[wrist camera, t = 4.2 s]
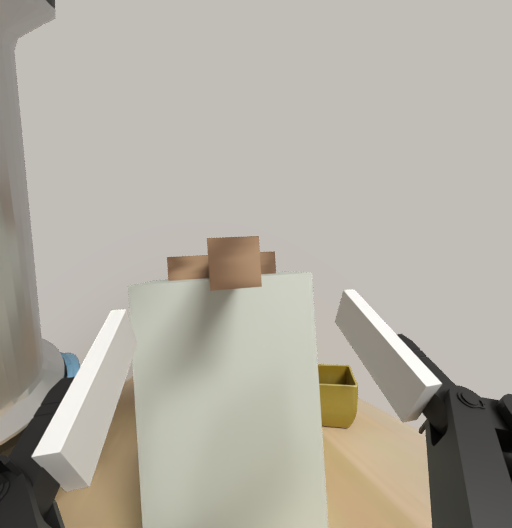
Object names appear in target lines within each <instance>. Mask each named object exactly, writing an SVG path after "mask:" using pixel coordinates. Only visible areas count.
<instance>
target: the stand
mask: <svg viewBox="0 0 512 528" xmlns="http://www.w3.org/2000/svg"><path fill="white" fill-rule="evenodd" d="M261 281H262V287H252V288H240V289H227V290H215V291H210V278H205V279H191V280H177V281H169V280H156V281H150V282H145V283H140V284H135V285H131V286H128V295H129V311H130V312H129V313H130V322H131V325H132V328H133V331H134V335H135V338H136V341H137V347H136V350H135V353H134V356H133V359H132V362H133V379H134V395H135V412H136V428H137V445H138V461H139V478H140V494H141V511H142V527H143V528H328V513H327V497H326V482H325V467H324V451H323V436H322V420H321V405H320V390H319V374H318V359H317V344H316V328H315V313H314V298H313V283H312V273H307V272H287V271H284V272H276V273H275V274H261Z"/></svg>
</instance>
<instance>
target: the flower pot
mask: <svg viewBox="0 0 512 528" xmlns="http://www.w3.org/2000/svg"><path fill="white" fill-rule="evenodd" d="M318 374H319V390H320V405H321V420H322V426H330V427H341V428H349V427H350V425H351V424H352V423H353V421H354V419H355V416H356V412H357V399H358V384H357V382H356V380H355V378H354V376H353V373H352V370H351V367H350V366H349V365H324V364H318Z"/></svg>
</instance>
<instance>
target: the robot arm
mask: <svg viewBox="0 0 512 528" xmlns="http://www.w3.org/2000/svg"><path fill="white" fill-rule="evenodd" d="M53 19H55V0H0V528H65V526H64V524H63V521H62V518H61V515H60V512H59V509H58V506H57V503H56V501H55V500H54V498H55V496H56V494H57V491H58V489H59V486H60V487H61V488H62V489H63V490H64V491H65V492H68V491H73V490H78V489H82V488H87V487H90V484H91V481H92V478H93V475H94V472H95V469H96V466H97V463H98V460H99V457H100V454H101V451H102V448H103V445H104V442H105V439H106V436H107V433H108V430H109V427H110V424H111V421H112V418H113V415H114V412H115V409H116V406H117V403H118V400H119V397H120V394H121V391H122V388H123V385H124V382H125V380H126V376H127V374H128V371H129V367H130V364H131V361H132V359H133V356H134V353H135V350H136V347H137V341H136V338H135V335H134V331H133V328H132V325H131V322H130V319H129V316H128V313H127V310H126V309H122V310H112V311H111V312H110V314H109V316H108V317H107V319H106V321H105V323H104V325H103V327H102V328H101V330H100V332H99V334H98V336H97V338H96V340H95V342H94V343H93V345H92V347H91V349H90V350H89V352H88V354H87V356H86V358H85V360H84V362H83V363H82V365H81V367H80V364H79V360H78V358H77V357H76V355H74V354H72V353H60V352H59V350H58V349H57V348H56V347H55V346H54V345H53V344H52V343H50V342H48V341H47V340H44V339H42V338H41V329H40V318H39V308H38V297H37V287H36V276H35V265H34V255H33V244H32V234H31V224H30V212H29V203H28V191H27V181H26V172H25V171H26V170H25V160H24V150H23V139H22V128H21V118H20V108H19V97H18V86H17V76H16V65H15V54H14V50H15V46H16V43H17V40H18V38H20V37H22V36H23V35H25V34H27V33H29V32H31V31H33V30H34V29H36V28H38V27H40V26H41V25H43V24H45V23H47V22H49V21H52V20H53ZM335 322H336V324H337V326H338V327H339V329H340V330H341V331H342V333H343V334H344V336H345V337H346V339H347V340H348V342H349V343H350V345H351V346H352V348H353V349H354V351H355V352H356V354H357V355H358V357H359V358H360V360H361V361H362V363H363V364H364V365H365V367H366V369H367V370H368V371H369V373H370V374H371V376H372V377H373V379H374V381H375V382H376V384H377V385H378V386H379V388H380V389H381V391H382V392H383V394H384V395H385V397H386V398H387V400H388V401H389V403H390V404H391V406H392V407H393V409H394V410H395V412H396V413H397V415H398V416H399V418H400V419H401V421H402V422H407V421H413V420H417V419H418V417H419V416H420V415H421V413H423V414H424V415H425V416H426V418H427V420H426V421H425V422H424V423H423V425H422V426H421V427H420V429H419V433H420V434H422V433H423V431H424V430H425V429H426V443H427V457H428V471H429V486H430V500H431V514H432V528H512V394H507V395H504V396H503V397H502V398H501V399H500V400H494V399H487V398H481V397H480V396H478V395H477V394H476V393H474V392H473V391H471V390H469V389H467V388H465V387H462V386H456V385H455V384H454V383H453V382H452V381H451V380H450V379H449V378H448V377H447V376H446V375H445V374H444V373H443V372H442V371H441V370H440V369H439V368H438V367H437V366H436V365H435V364H434V363H433V362H432V361H431V360H430V359H429V358H427V357H426V355H425V354H424V353H423V352H422V351H420V349H419V348H418V347H417V346H416V344H415V343H413V341H411V340H410V339H408V338H407V337H405V336H404V335H402V334H398V335H396V334H395V333H394V331H393V330H392V329H391V328H390V327H389V326H388V325H387V324H386V323H385V322H384V321H383V320H382V319H381V318H380V317H379V316H378V314H377V313H376V312H375V311H374V310H373V309H372V308H371V307H370V306H369V305H368V304H367V303H366V302H365V300H364V299H363V298H362V297H361V296H359V294H358V293H357V292H356V291H355V290H354V289H353V290H344V291H343V294H342V298H341V301H340V305H339V309H338V313H337V316H336V320H335Z"/></svg>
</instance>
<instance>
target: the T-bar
mask: <svg viewBox="0 0 512 528" xmlns="http://www.w3.org/2000/svg"><path fill="white" fill-rule="evenodd" d="M207 246H208V255H202V256H182V257H168V258H167V263H168V280H169V281H177V280H191V279H205V278H210V291H215V290H227V289H240V288H252V287H262V281H261V274H275V273H276V265H275V252H260V250H259V237H258V236H250V237H226V238H207Z"/></svg>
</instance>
